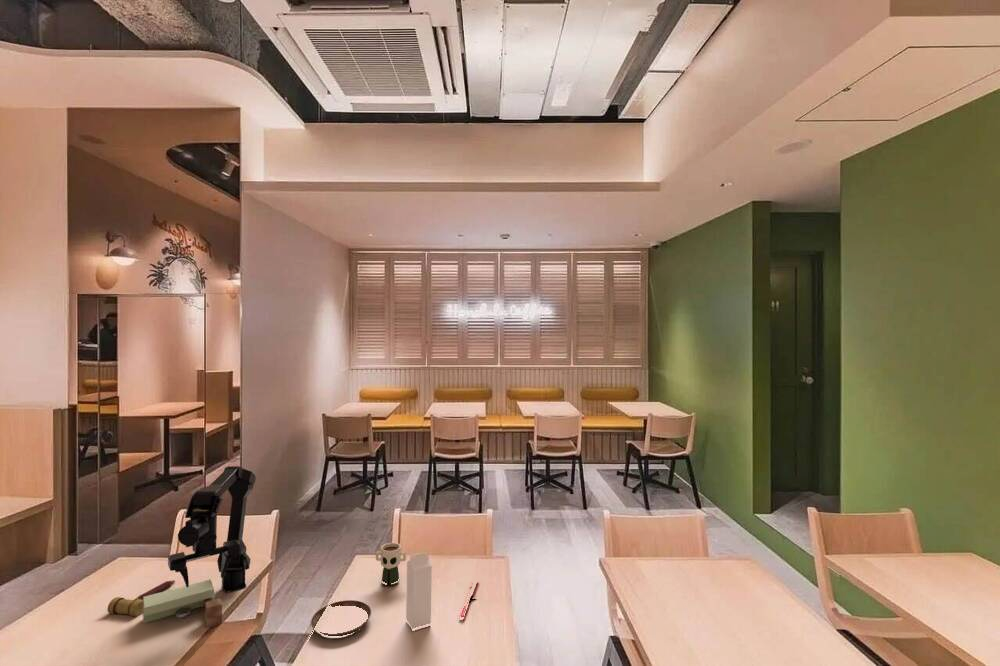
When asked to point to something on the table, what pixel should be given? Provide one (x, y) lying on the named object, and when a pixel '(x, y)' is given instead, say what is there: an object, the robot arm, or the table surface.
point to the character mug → (390, 561)
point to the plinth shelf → (176, 600)
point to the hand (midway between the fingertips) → (204, 581)
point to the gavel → (135, 601)
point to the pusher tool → (213, 612)
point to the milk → (419, 590)
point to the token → (183, 613)
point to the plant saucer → (342, 603)
